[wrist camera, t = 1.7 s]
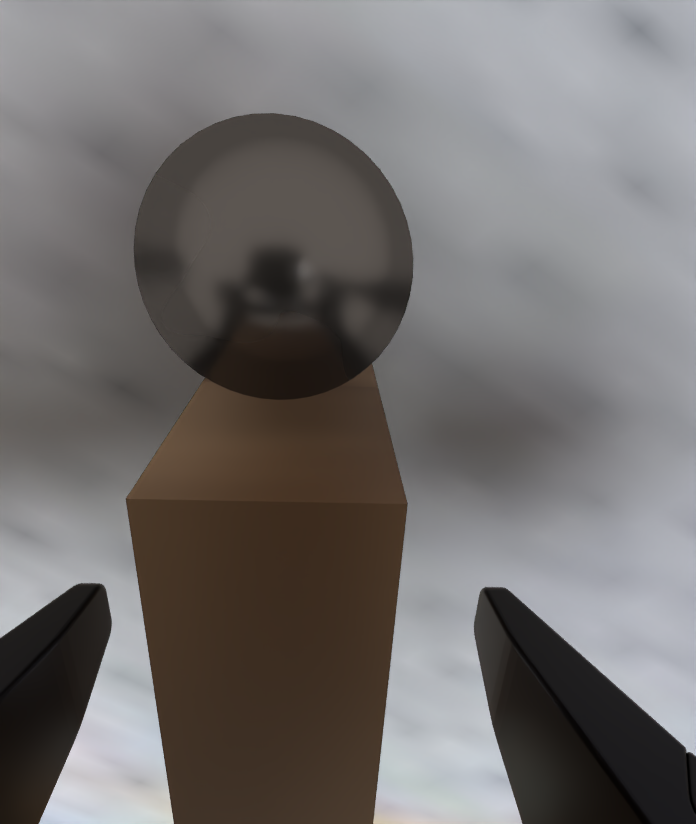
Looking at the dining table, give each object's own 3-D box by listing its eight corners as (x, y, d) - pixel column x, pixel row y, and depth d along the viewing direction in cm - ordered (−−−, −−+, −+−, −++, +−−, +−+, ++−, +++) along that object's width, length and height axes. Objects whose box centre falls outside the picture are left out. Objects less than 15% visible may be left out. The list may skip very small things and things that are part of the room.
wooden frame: (354, 295, 11) (408, 504, 4) (329, 789, 18) (331, 1210, 10) (261, 291, 11) (126, 498, 4) (272, 789, 18) (231, 1215, 10)
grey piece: (359, 168, 11) (425, 121, 3) (327, 810, 19) (327, 1187, 12) (262, 163, 11) (115, 104, 3) (274, 811, 19) (242, 1192, 12)
